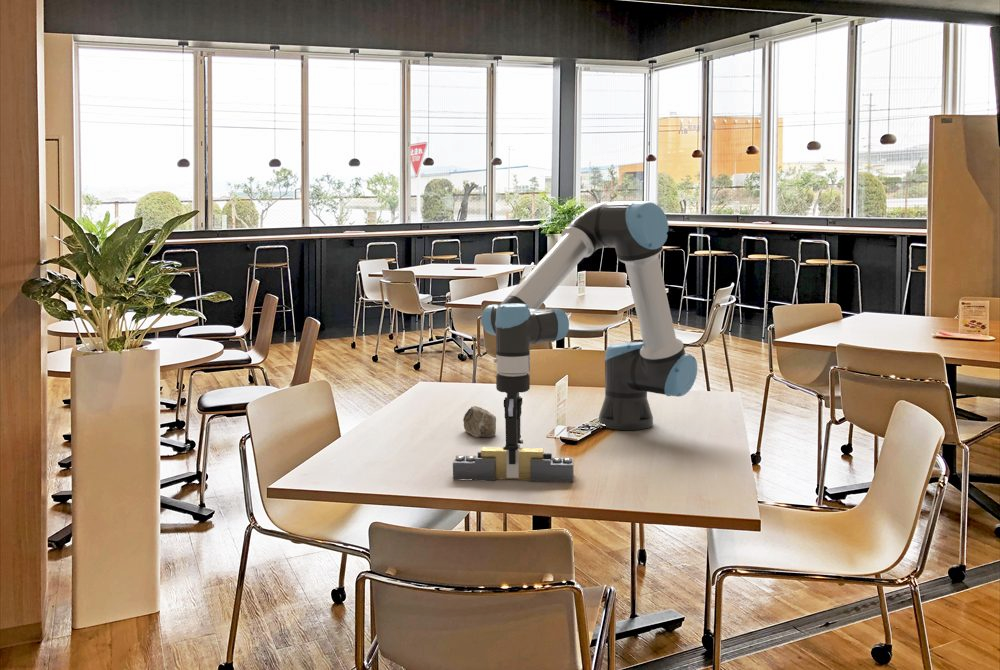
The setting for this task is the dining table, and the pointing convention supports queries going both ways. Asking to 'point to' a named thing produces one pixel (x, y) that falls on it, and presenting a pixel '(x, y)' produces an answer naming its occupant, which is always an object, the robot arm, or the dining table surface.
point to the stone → (480, 422)
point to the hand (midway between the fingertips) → (513, 474)
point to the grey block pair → (539, 468)
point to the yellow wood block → (524, 460)
